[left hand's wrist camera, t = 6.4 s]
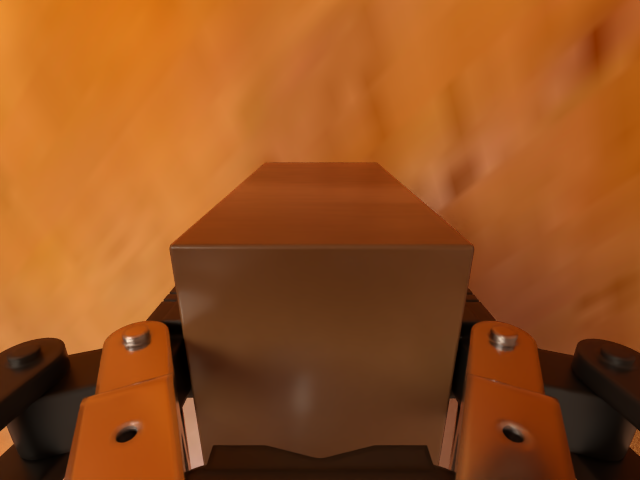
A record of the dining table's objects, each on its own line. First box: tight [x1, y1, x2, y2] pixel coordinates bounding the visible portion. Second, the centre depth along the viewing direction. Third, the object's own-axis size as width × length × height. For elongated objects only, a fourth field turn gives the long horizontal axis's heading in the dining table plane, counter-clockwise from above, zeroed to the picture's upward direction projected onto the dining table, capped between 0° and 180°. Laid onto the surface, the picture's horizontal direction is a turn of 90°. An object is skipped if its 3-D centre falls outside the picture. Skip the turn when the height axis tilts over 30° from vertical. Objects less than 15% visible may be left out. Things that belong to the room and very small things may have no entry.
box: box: [170, 163, 474, 466], centre depth 17 cm, size 25×6×12 cm, turn 0°
